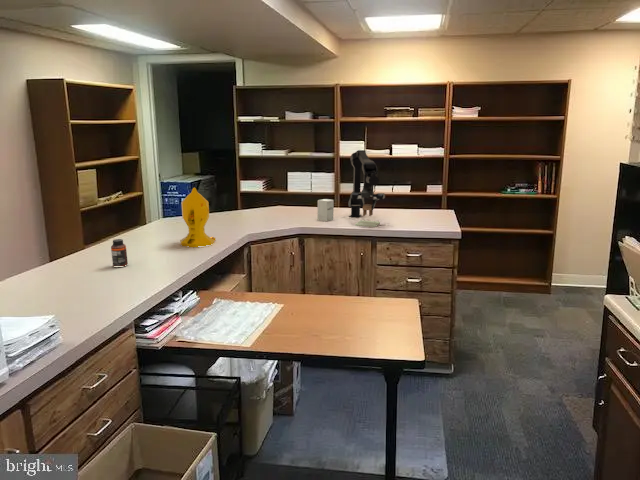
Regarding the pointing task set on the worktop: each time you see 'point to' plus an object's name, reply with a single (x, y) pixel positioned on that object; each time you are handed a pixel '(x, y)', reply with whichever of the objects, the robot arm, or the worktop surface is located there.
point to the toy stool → (367, 207)
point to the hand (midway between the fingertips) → (367, 210)
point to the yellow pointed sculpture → (196, 220)
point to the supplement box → (325, 209)
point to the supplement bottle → (119, 253)
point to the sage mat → (367, 223)
